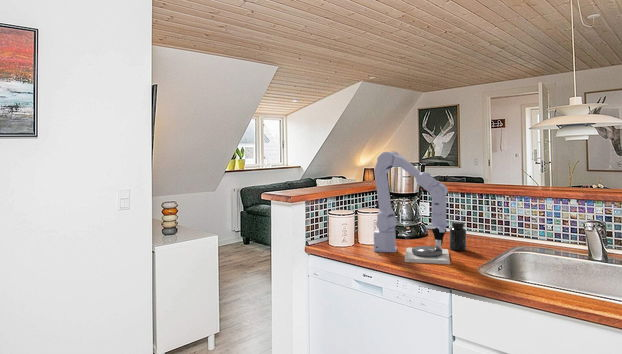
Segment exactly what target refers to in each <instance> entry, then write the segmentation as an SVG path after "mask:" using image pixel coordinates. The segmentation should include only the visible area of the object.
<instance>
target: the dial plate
mask: <svg viewBox="0 0 622 354" xmlns="http://www.w3.org/2000/svg"><path fill="white" fill-rule="evenodd" d="M412 248H413V247H406V251H405V255H404V262H405V263H419V264H421V263H422V264H437V265H439V264H440V265H451V260H450V259H451V258H450V254H449V249H448V248H441V249H442V255H440V256H436V257H423V256H417V255H414V254H413V253H412Z"/></svg>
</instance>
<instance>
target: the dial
mask: <svg viewBox="0 0 622 354" xmlns="http://www.w3.org/2000/svg"><path fill="white" fill-rule="evenodd" d="M411 248H412V253H413V254H414V255H417V256H423V257H436V256H440V255H442V249H443V248H442V246H441V239H435V238H434V246H432V245H418V246H413V247H411Z"/></svg>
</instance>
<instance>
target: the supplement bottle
mask: <svg viewBox="0 0 622 354" xmlns="http://www.w3.org/2000/svg"><path fill="white" fill-rule="evenodd" d="M464 225H465V223H464V222H463V221H452V222H451V228H450V229H449V250H451V251H454V252H455V251H456V252H463V251H464V252H465V251H466V250H467V230H466V228H464V227H465V226H464Z"/></svg>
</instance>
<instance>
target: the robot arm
mask: <svg viewBox="0 0 622 354" xmlns="http://www.w3.org/2000/svg"><path fill="white" fill-rule="evenodd" d="M376 160H377V161H376V164H375V166H374V170H373V173H374V179H375V187H376V196H377V202H378V203H377V204H378V212H377V215H376V217H377V220H376V223H375V224H376V227H377V230H374V233H373V251H374V252H375V253H376V252H377V253H378V252H379V253H381V252H382V253H396V252H397V251H398V246H396V244H397V242H396V239H397V238H396V226H397V225H398V219H397V217H396V215H395V211H394V210H393V209H392V208H393V207H392V203H391V196H390V189H389V188H390V187H389V182H388V181H389V180H388V179H389V178H388V173H389V171H390V170H392V168H395V167H396V168H401V169H402V170H404V171H405V172H407V174H409V175H411V176H412V177H413V178H415V181H416V183H417V184H418V185H419V186H420V187H421V188H423V189H424V190H426V192H428V194H429V195H430V197H431V222H430V226H431V227H433V228H431V231H432V234H433V236H434V237H433V238H434V240H435V239H441V247H443V244H444V243H443V241H444V238H445V237H444V236H445V235H446V232H447V229H446V228H447V227H449V226H450V224H449V223H447V195H448V193H449V190H448V189H449V188H448V187H447V186H446V184H445V183H441V182H440V181H439V180H436V178H434V177H432V175H431V173H430V172H426V171H423V172H421V171H420V170H419V169H418V168H417V167H416V166H415V165H413V164H412V163H411V162H410V161H409V160H407V159H406V158H405V157H404V156H403V155H402V154H400V153H399V152H397V151H393V150H392V151H384V152H382V153H380V154H379V155H378V157H377V159H376Z"/></svg>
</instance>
